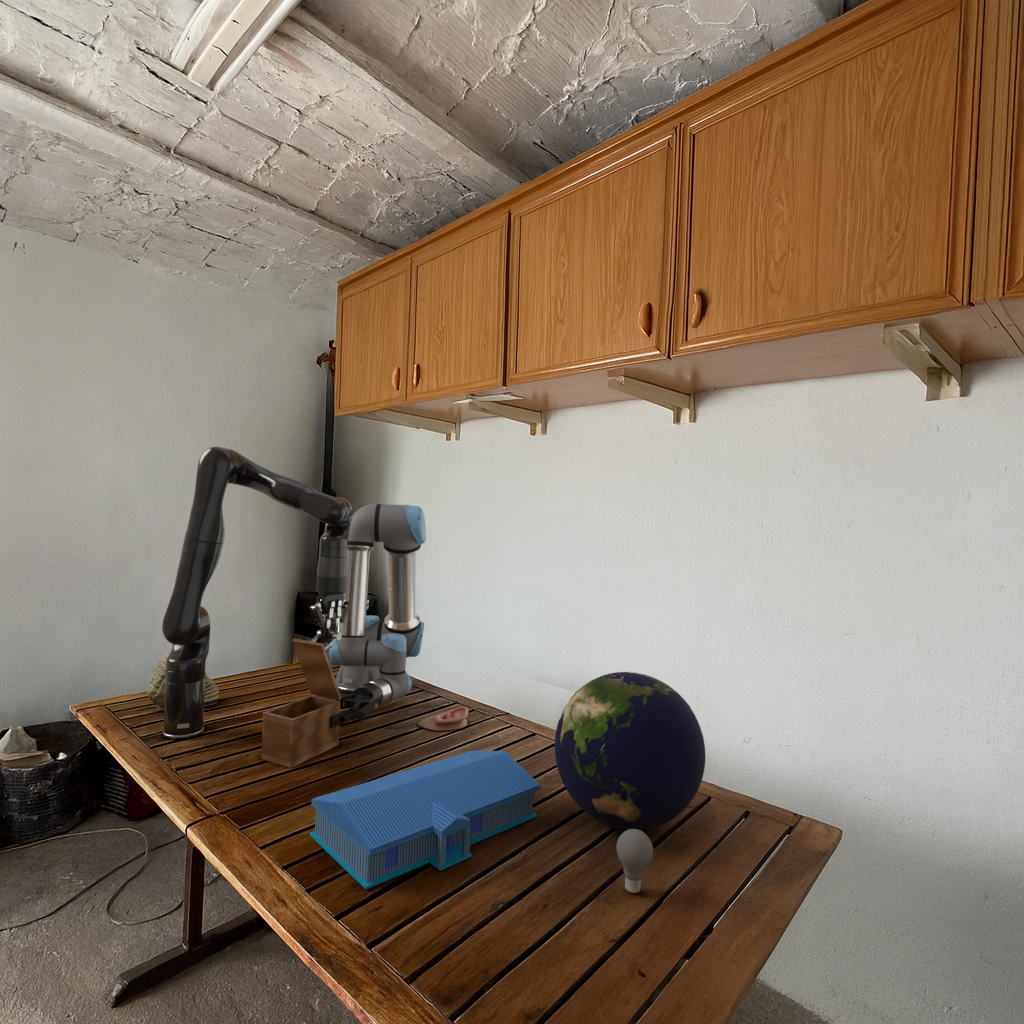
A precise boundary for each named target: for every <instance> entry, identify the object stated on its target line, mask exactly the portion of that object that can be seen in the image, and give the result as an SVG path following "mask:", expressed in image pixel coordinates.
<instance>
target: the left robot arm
mask: <svg viewBox="0 0 1024 1024" xmlns="http://www.w3.org/2000/svg"><path fill="white" fill-rule="evenodd" d="M229 484H231V485H235V486H236V485H237V486H242V487H246V488H249V489H252V490H254V491H257V492H259V493H261V494H263V495H265V496H267V497H268V498H270V499H272V500H273V501H276V502H277V503H278V504H281V505H283V506H286V507H289V508H290V509H293V510H296V511H299V512H302V513H305V514H307V515H308V516H310V517H312V518H314V519H316V520H318V521H320V522H322V523H325V526H324V532H323V534H322V535H321V536H320V540H319V553H318V561H317V570H316V589H315V590H316V593H318V597H317V600H316V603H315V604H311V605H308V610H309V612H310V615H311V618H312V620H313V623H314V625H315V626H317V627H320V630H321V637H320V638H319V639H320V642H321V643H326V644H328V643H329V642H330V641H331V640H330V631H331V632H337V633H339V625H340V623H343V622H344V621H345V618H346V615H347V613H348V610H349V608H350V605H351V602H350V601H346V600H345V599H344V595H343V593H345V592H346V590H347V571H348V563H347V551H348V536H349V532H350V527H351V522H352V515H353V508H352V505H351V503H350V502H349V501H348V500H347V499H345V497H340V496H339V497H338V496H332V495H331V494H327V493H324V492H322V491H319V490H317V488H316V487H315V488H314V487H313V486H312V485H309V484H307V483H304V482H301V481H299V480H296V479H295V478H291V477H289V476H285V475H282V474H280V473H277V472H274V471H272V470H269V469H267V468H265V467H263V466H261V465H259V464H257V463H255V462H254V461H252V460H251V459H249V458H247V457H246V456H244V455H242V454H241V453H240V452H238V451H236V450H234V449H231V448H228V447H222V446H211V447H208V448H206V449H205V450H204V451H203V452H202V453H201V454H200V456H199V459H198V463H197V469H196V477H195V484H194V485H195V487H194V496H193V500H192V505H191V509H190V513H189V518H188V523H187V527H186V531H185V534H184V538H183V543H182V547H181V553H180V557H179V558H180V559H179V561H178V566H177V567H178V568H177V571H176V577H175V581H174V585H173V586H174V587H173V589H172V593H171V596H170V599H169V602H168V604H167V607H166V610H165V613H164V615H163V618H162V623H161V631H162V635H163V637H164V638H165V640H166V641H167V642H168V643H169V644H171V645H172V647H171V651H170V652H169V654H167V655H168V657H167V659H166V674H165V705H164V710H163V730H162V737H164V738H166V739H169V740H185V739H190V738H191V739H192V738H194V737H197V736H199V735H202V734H203V732H204V730H205V729H204V726H205V725H204V722H205V721H204V718H205V706H204V693H205V672H206V664H207V663H206V662H207V658H208V655H209V653H210V652H209V651H210V642H211V625H212V623H211V617H210V613H209V612H208V611H207V610H206V609H207V608H205V607H203V606H202V601H203V597H204V594H205V591H206V589H207V587H208V584H209V582H210V581H211V579H212V577H213V575H214V573H215V572H216V569H217V568H218V564H219V562H220V559H221V556H222V553H223V549H224V544H225V539H226V527H225V519H224V512H223V511H224V510H223V505H224V498H225V495H226V490H227V487H228V485H229ZM341 614H342V616H341ZM340 617H341V618H340Z"/></svg>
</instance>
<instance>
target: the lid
mask: <svg viewBox="0 0 1024 1024" xmlns="http://www.w3.org/2000/svg"><path fill="white" fill-rule="evenodd" d="M320 637H321V629H318V630H317V631H316V635H315V636H314V637H313V638H312V639H311V640H305V639H299V638H292V640H291V642H292V645H293V648H294V651H295V654H296V656H297V659H298V662H299V664H300V667H301V671H302V673H303V675H304V679H305V681H306V684H307V687H308V690H309V692H310V694H311V695H314V696H318V697H326V698H330V699H335V700H339V701H340V700H341V695H340V692H341V691H339V689H338V686H337V683H336V677H335V675H334V671H333V669H332V666H331V665H332V664H331V662H330V658H329V655H328V654H327V650H328V649H330V646H331V645H332V644H333V643H334V642H335V641H340V640H341V637H342V635H341V633H339V632H338V633H337V632H331V631H330V640H331V641H330V640H329V642H327V643H326V644H325V645H324V643H323V642H316V641H318V639H321V638H320Z"/></svg>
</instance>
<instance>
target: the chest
mask: <svg viewBox="0 0 1024 1024" xmlns="http://www.w3.org/2000/svg"><path fill="white" fill-rule="evenodd" d="M340 712H341V709H340V701H336V700H331V699H327V698H323V697H321V696H317V695H313V694H311V695H308V696H306V697H303V698H300V699H297V700H294V701H292V702H289V703H286V704H283V705H280V706H278V707H275V708H271V709H269V710H266V711H263V712H262V726H261V727H262V728H261V752H260V760H263V761H266V762H270V763H273V764H276V765H280V766H284V767H286V768H290V769H292V768H294V767H296V766H298V765H300V764H302V763H305V762H307V761H309V760H311V759H313V758H315V757H317V756H320V755H321V754H324V753H325V752H328V751H329V750H331V749H333V748H335V747H338V746H340V725H338V726H336V727H333V728H330V717H331V716H333V715H336V714H338V713H340Z"/></svg>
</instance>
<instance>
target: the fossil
mask: <svg viewBox="0 0 1024 1024" xmlns="http://www.w3.org/2000/svg"><path fill="white" fill-rule="evenodd" d="M168 655H169V654H165V655H164V656H163V657H162V658H161V659H160V660H159V662H158V663H157V666H156V667H155V669H154V670H153V672H152V675H151V677H150V680H149V684H148V688H147V697H148V699H149V700H150V701H152V703H153V704H154V706H155V711H158V712H159V711H162V712H163V711H164V705H165V674H166V659H167V657H168ZM220 698H221V696H220V690H219V688H218V686H217V685H216V683H215V682H214V681H213V679H212V678H211V677H209V675H208V674H207V672H206V671H205V693H204V707H207V706H213V705H215V704H217V703H218V701H219V699H220Z"/></svg>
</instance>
